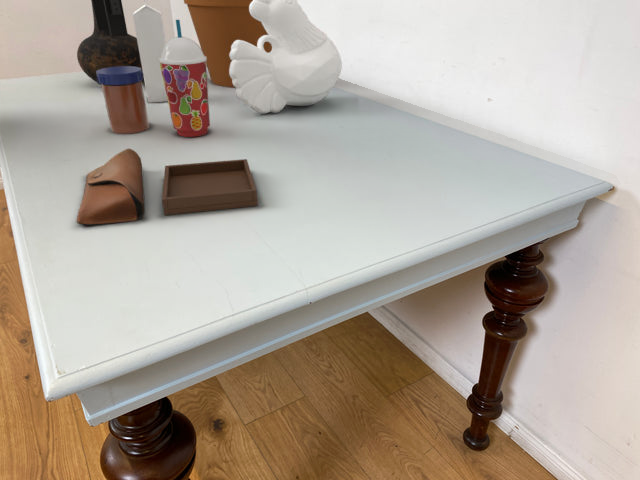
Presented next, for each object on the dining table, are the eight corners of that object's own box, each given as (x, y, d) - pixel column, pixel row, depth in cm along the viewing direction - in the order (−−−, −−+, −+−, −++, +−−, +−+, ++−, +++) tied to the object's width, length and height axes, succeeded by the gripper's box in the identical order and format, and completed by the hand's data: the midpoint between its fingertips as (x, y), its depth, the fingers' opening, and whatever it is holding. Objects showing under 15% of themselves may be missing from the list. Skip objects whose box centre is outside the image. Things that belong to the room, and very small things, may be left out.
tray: (164, 215, 63) (161, 199, 61) (167, 179, 73) (165, 165, 72) (257, 205, 65) (256, 190, 64) (247, 172, 75) (246, 158, 74)
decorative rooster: (334, 65, 118) (266, -24, 106) (364, 63, 104) (290, -40, 92) (264, 137, 117) (188, 55, 105) (285, 145, 103) (200, 51, 91)
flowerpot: (269, 67, 151) (264, -18, 139) (313, 84, 130) (312, -14, 119) (181, 76, 139) (168, -16, 127) (214, 96, 118) (202, -11, 106)
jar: (109, 134, 92) (96, 77, 86) (113, 124, 98) (101, 70, 92) (148, 132, 93) (138, 75, 88) (150, 121, 99) (141, 68, 94)
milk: (148, 103, 113) (128, -2, 101) (148, 97, 118) (130, -4, 106) (175, 101, 114) (158, -3, 103) (174, 95, 119) (158, -5, 108)
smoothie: (214, 125, 97) (202, 17, 87) (215, 138, 90) (202, 21, 80) (171, 127, 96) (154, 17, 86) (169, 141, 89) (150, 22, 79)
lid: (94, 86, 87) (92, 75, 86) (101, 77, 93) (99, 67, 92) (141, 84, 88) (139, 73, 87) (144, 75, 95) (143, 65, 94)
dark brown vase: (157, 75, 141) (140, -35, 126) (146, 88, 125) (125, -35, 111) (94, 76, 138) (68, -36, 124) (75, 90, 123) (44, -35, 109)
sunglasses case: (83, 173, 74) (99, 134, 72) (130, 189, 77) (145, 152, 75) (74, 226, 59) (93, 179, 57) (132, 242, 63) (152, 199, 61)
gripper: (44, -116, 81) (78, 28, 93) (67, -135, 66) (104, 41, 77) (91, -112, 85) (118, 25, 96) (123, -130, 69) (151, 37, 81)
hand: (112, 32), depth 87 cm, fingers open, 9 cm apart
